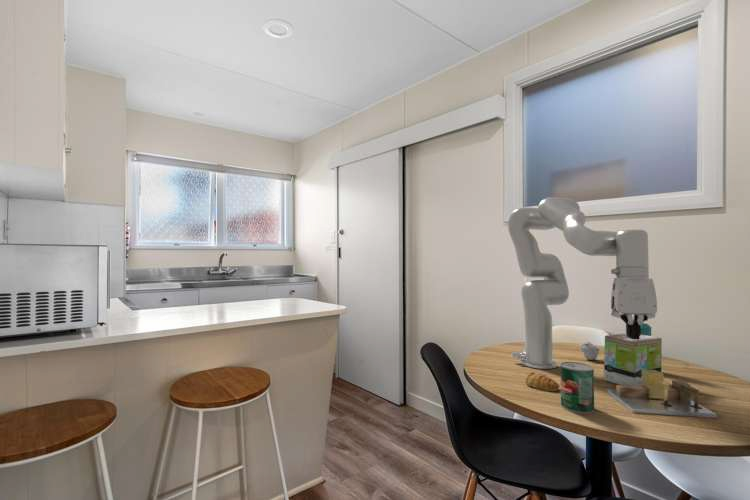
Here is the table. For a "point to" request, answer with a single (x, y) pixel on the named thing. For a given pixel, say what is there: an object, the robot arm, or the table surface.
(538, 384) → the pastry
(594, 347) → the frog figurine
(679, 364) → the table surface
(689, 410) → the bolt plate
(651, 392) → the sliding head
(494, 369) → the table surface
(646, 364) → the tea box
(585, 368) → the canned tomato
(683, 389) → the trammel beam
